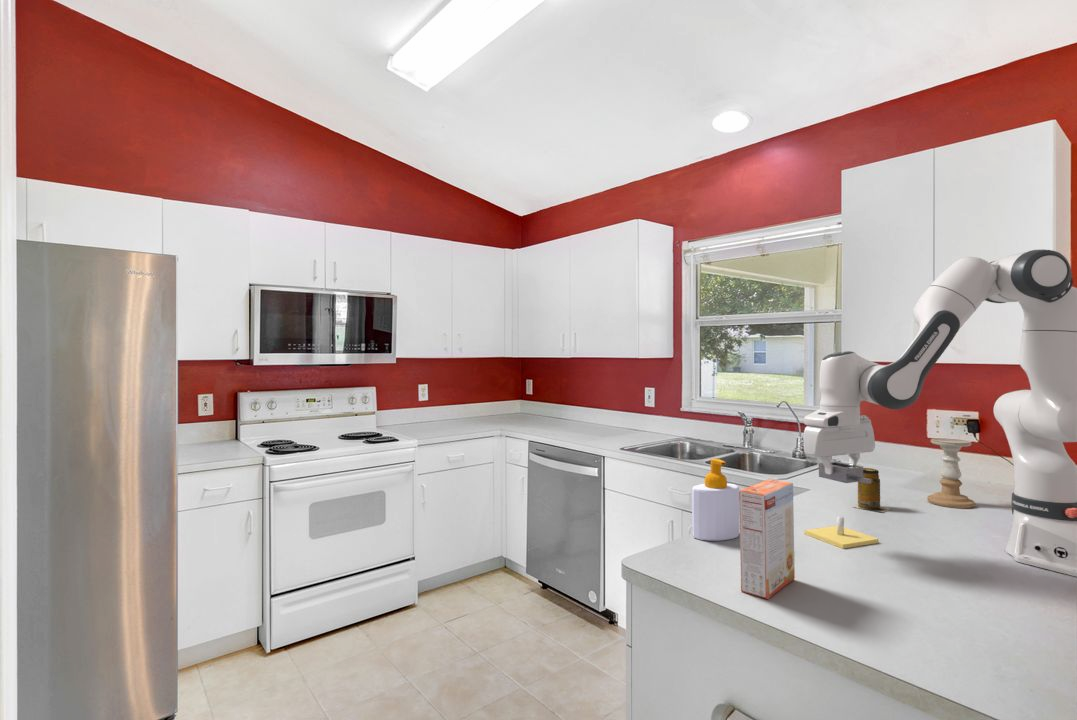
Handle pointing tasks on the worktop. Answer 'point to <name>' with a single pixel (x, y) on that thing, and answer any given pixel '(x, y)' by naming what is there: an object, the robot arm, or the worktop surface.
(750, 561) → the cracker box
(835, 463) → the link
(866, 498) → the condiment
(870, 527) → the worktop surface
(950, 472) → the candle holder
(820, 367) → the robot arm
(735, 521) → the soap bottle
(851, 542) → the keeper
